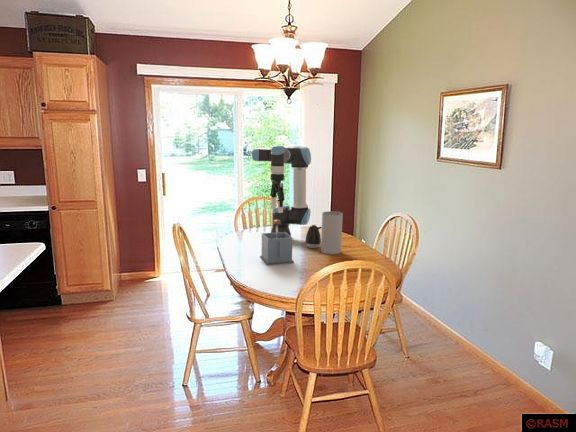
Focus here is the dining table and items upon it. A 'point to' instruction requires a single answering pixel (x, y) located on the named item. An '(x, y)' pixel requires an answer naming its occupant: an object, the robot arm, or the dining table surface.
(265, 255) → the grey open bin
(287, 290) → the dining table surface
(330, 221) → the cylinder vase
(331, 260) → the dining table surface
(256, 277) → the dining table surface
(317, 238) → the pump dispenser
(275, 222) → the plunger
